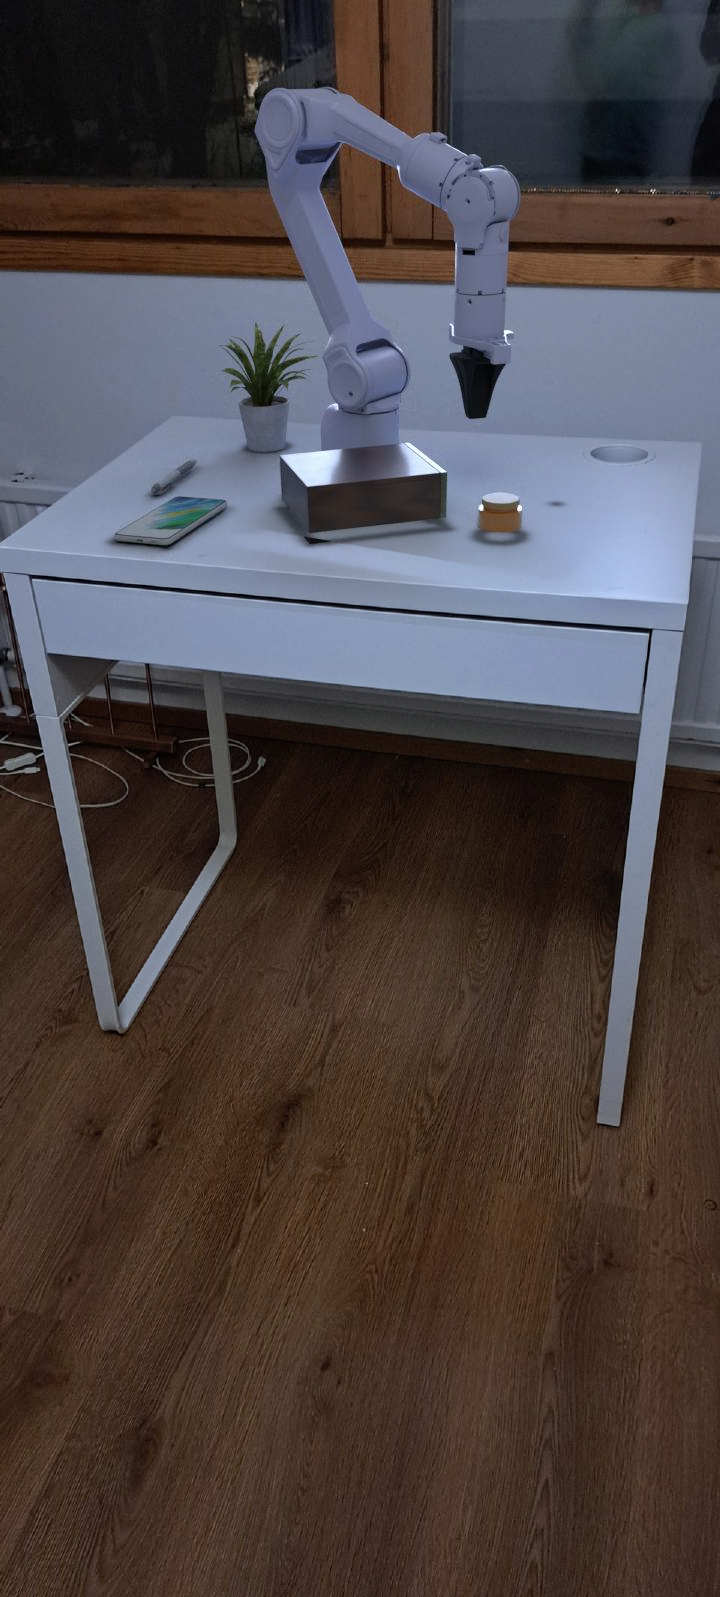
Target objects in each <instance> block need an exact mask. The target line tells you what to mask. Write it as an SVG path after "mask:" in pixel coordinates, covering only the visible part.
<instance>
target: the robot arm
mask: <svg viewBox="0 0 720 1597" xmlns="http://www.w3.org/2000/svg"><path fill="white" fill-rule="evenodd" d="M253 131H254V134H255V137H256V139H257V141H258V143H259V146H260V149H261V151H262V154H263V155H264V157H265V167H266V175H267V182H268V189H269V193H270V196H271V199H272V202H273V203H274V206H275V209H276V211H277V214H278V216H279V218H280V221H281V223H282V225H283V228H284V230H285V233H286V235H287V238H288V239H289V242H290V244H291V247H292V249H293V251H294V254H295V256H296V259H297V261H298V263H299V266H300V268H301V271H302V273H303V275H304V278H305V280H306V283H307V285H308V287H309V290H310V292H311V295H312V297H313V300H314V302H315V304H316V307H317V309H318V312H319V314H320V316H321V319H322V322H323V324H324V327H325V328H326V332H327V334H328V336H329V339H328V341H327V343H326V345H325V348H324V351H323V353H322V357H321V358H322V360H323V363H324V366H325V369H326V375H327V386H328V391H329V393H330V396H331V397H332V399H333V401H334V402H335V403H331V404H330V405H329V406H328V407H327V408H326V409H325V410H324V413H323V415H322V419H321V425H320V447H321V448H320V450H321V451H329V450H339V449H349V448H360V447H370V446H380V445H390V444H400V407H399V406H400V404H401V403H402V394H403V393H404V392H405V391H406V389H407V388H408V387H409V384H410V381H411V374H412V372H411V364H410V360H409V359H408V357H407V355H406V353H405V352H404V350H402V349H401V348H400V346H398V345H397V343H396V342H395V341H394V338H393V337H392V334H391V332H390V330H389V329H388V328H386V327H385V326H384V325H382V324H381V323H380V322H378V321H376V320H375V319H374V318H373V317H372V316H371V314H370V311H369V308H368V306H367V304H366V301H365V298H364V296H363V294H362V291H361V288H360V286H359V284H358V281H357V279H356V277H355V273H354V272H353V269H352V266H351V264H350V261H349V259H348V256H347V255H346V252H345V249H344V246H343V244H342V241H341V239H340V237H339V234H338V232H337V229H336V226H335V225H334V222H333V220H332V218H331V215H330V213H329V210H328V207H327V205H326V202H325V200H324V197H323V195H322V192H321V189H320V186H321V183H322V180H323V178H324V175H325V174H326V173H327V171H328V169H329V167H330V165H331V164H332V162H333V160H334V159H335V157H336V155H337V153H338V151H339V150H340V148H341V146H342V145H343V144H347V145H349V146H350V147H353V148H355V149H356V150H359V151H360V152H363V153H365V154H367V155H368V156H370V157H372V158H375V159H376V160H378V161H381V162H382V163H383V164H386V165H388V166H390V167H392V168H395V169H396V170H397V171H398V177H399V181H400V183H401V186H402V187H404V188H405V189H407V190H408V191H410V192H411V193H414V194H415V195H416V196H419V197H420V198H421V199H423V200H426V201H427V202H429V203H431V204H432V205H434V206H436V207H437V208H439V209H440V210H442V211H444V212H446V215H447V218H448V220H449V222H450V223H451V225H452V227H453V242H454V243H455V256H454V260H455V261H454V292H453V293H454V295H453V296H454V299H453V300H454V301H453V323H449V324H448V341H449V342H451V343H453V344H455V345H459V346H462V349H461V350H460V351H457V352H451V353H449V355H448V356H449V360H450V362H451V364H452V366H453V368H454V371H455V374H456V376H457V381H458V384H459V388H460V389H459V390H460V394H461V399H462V400H461V401H462V405H463V410H464V414H465V417H466V418H467V419H469V420H479V419H486V418H487V416H488V413H489V408H490V405H491V402H492V397H493V395H494V394H493V393H494V390H495V387H496V385H497V382H498V379H499V377H500V376H501V374H502V371H503V370H504V368H505V367H506V365H507V364H511V359H512V358H511V356H512V344H510V343H509V342H508V340H514V339H515V333H514V331H512V330H509V329H505V328H506V308H507V307H506V305H507V288H508V287H507V284H508V264H509V243H510V242H509V241H510V221H512V220H513V219H514V218H515V217H516V214H517V213H518V211H519V208H520V204H521V189H520V184H519V182H518V180H517V178H516V177H515V176H514V174H513V173H512V172H511V171H509V170H508V169H507V168H506V166H504V165H501V164H497V165H496V164H495V165H490V166H487V167H485V168H484V165H483V164H482V163H481V162H482V158H481V156H479V155H477V154H475V153H473V154H471V153H470V154H466V153H464V152H462V151H460V150H459V149H457V148H455V147H453V146H451V145H450V144H448V143H447V140H448V136H447V135H446V134H443V133H441V132H440V131H436V132H431V133H427V132H423V133H420V134H419V135H417V136H415V137H413V138H412V137H411V136H410V135H408V134H407V133H405V132H404V131H402V130H400V129H399V128H398V127H395V126H394V125H392V124H391V123H390V122H388V121H387V120H385V119H383V118H382V117H380V116H379V115H378V114H376V113H374V112H373V111H371V110H370V109H368V108H366V107H365V106H363V105H362V104H360V103H359V102H357V101H356V100H355V99H354V97H353V96H351V95H350V94H346V93H341V92H339V90H337V89H335V88H333V87H330V86H323V87H318V88H298V89H297V88H293V89H291V88H290V89H289V88H288V89H287V88H285V87H276V88H273V89H271V90H269V92H267V93H266V94H265V96H264V97H263V99H262V101H261V103H260V106H259V110H258V114H257V118H256V123H255V127H254V130H253Z"/></svg>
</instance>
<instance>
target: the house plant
mask: <svg viewBox="0 0 720 1597" xmlns="http://www.w3.org/2000/svg"><path fill="white" fill-rule="evenodd" d="M284 327H285V325H282V326H281V327H280V328H279V330H278V331H277V332H276V333H275V334H274V335H273V337H272V339H271V341H270V343H269V344H268V346H267V345H266V342H265V339H264V338H263V332H262V331H261V329H259V325H258V324H257V322H255V324H254V345H253V352H252V350H251V348H250V347H249V345H248V343H247V342H246V341H245V340H244V339H242V338H240V337H237V336H234V338H235V339H238V340H240V341H241V342H242V343H243V344H244V345H245V347H246V349H247V350H248V353H249V355H250V357H251V360H252V363H253V366H252V363H251V361H250V358H249V357H248V354H247V353H246V352H245V351H244V349H243V348H242V347H241V346H240V345H239V344H238V343H237V342H236V341H235V340H233V339H231V338H232V336H229V337H231V338H228V340H229V342H230V343H229V342H228V341H226V340H225V343H226V344H222V345H219V347H221V348H222V350H224V351H225V352H226V353H228V354H229V356H230V357H231V358H232V359H233V360H234V361H235V363H236V364H237V365H238V366H239V368H240V370H242V372H243V373H241V372H240V371H239V370H237V369H235V368H233V367H232V368H231V367H227V368H224V369H222V370H221V372H224V373H227V374H229V375H232V376H234V377H235V378H237V379H231V381H230V385H229V388H231V391H230V393H232V392H234V391H235V390H238V389H243V390H245V391H246V392H247V393H248V394H249V396H247V397H243V398H241V399H240V400H238V402H237V404H238V409H239V414H240V418H241V423H242V427H243V431H244V436H245V440H246V445H247V449H248V450H249V451H252V452H259V453H260V452H261V453H271V452H277V451H281V450H283V449H284V448H285V447H286V439H287V431H288V419H289V410H290V402H291V401H290V399H289V398H288V397H285V396H283V395H282V396H281V395H278V394H279V393H280V392H281V391H282V390H283V389H284V388H285V389H286V390H287V391H289V382H290V381H293V380H298V379H299V380H301V379H303V380H307V381H309V382H310V379H308V378H306V377H308V375H307V374H306V373H304V371H311V370H313V369H309V368H307V369H301V370H291V371H288V372H287V371H286V372H285V373H284V374H283V372H284V371H285V370H286V369H287V368H289V367H291V366H293V365H295V364H297V363H300V362H302V361H306V360H310V359H316V358H317V357H319V355H305V356H297V357H294V358H293V357H292V358H290V359H287V358H288V357H289V356H290V355H291V354H292V353H294V352H295V351H300V350H303V348H295V347H297V346H300V345H303V344H307V343H313V342H314V340H313V341H312V340H311V341H310V340H309V341H305V342H304V341H303V342H300V343H298V344H295V345H292V346H291V344H292V343H293V342H294V340H296V338H298V337H299V336H300V335H302V334H303V332H302V333H301V332H300V333H297V334H295V335H293V336H292V337H291V338H289V339H288V340H287V341H286V342H285V343H283V346H282V347H281V348H280V349H279V351H278V352H277V353H276V355H275V356H273V355H274V350H275V347H279V344H277V342H278V339H279V337H280V335H281V333H282V332H283V330H284ZM224 347H226V348H228V349H229V350H231V351H232V352H233V353H234V354H235V356H236V357H237V358H238V359H239V361H240V363H241V364H240V363H239V361H238V360H237V359H236V358H235V357H234V356H233V355H232V354H231V352H230V351H229V350H228V349H226V348H224ZM266 347H267V349H266ZM293 348H295V349H293ZM291 349H292V350H291ZM290 350H291V351H290ZM289 351H290V352H289ZM288 352H289V353H288ZM286 353H288V354H287V355H286V356H285V354H286ZM284 356H285V358H284V359H283V357H284ZM272 359H273V360H272ZM282 359H283V361H282V362H281V360H282ZM286 359H287V360H286ZM280 362H281V363H280ZM243 374H244V375H245V376H244V375H243ZM292 374H294V375H292ZM298 374H301V375H298ZM290 375H292V376H290ZM303 375H305V376H306V377H304V376H303ZM287 376H289V377H287ZM286 377H287V378H286ZM238 379H239V380H238ZM240 384H242V385H243V386H242V387H241V386H237V385H240ZM281 386H282V387H281ZM280 387H281V388H280ZM279 388H280V390H279ZM278 390H279V391H278ZM277 391H278V392H277ZM276 392H277V394H276ZM230 393H229V394H230ZM275 394H276V395H275Z"/></svg>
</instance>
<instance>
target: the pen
mask: <svg viewBox="0 0 720 1597" xmlns="http://www.w3.org/2000/svg"><path fill="white" fill-rule="evenodd" d="M196 464H197V459H195V458H193V459H189V460H187V461H185V462H184V463H182V464H181V465H180V466H178V467H176V468H175V469H174V470H172V472H171V473H169V474H168V475H166V476H164V477H163V478H162V479H160V480H159V481H157V482H155V483H154V485H152V486H151V489H150V491H151V493H153V495H162V494H164V493H165V492H167V491H168V490H169V489H170V488H171V486H172V483H173V482H174V481H175V480H177V479H178V478H180V477H182V476H183V475H184V474H185V473H187V472H188V471H190V470H191V469H193V467H194V466H195V465H196Z"/></svg>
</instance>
